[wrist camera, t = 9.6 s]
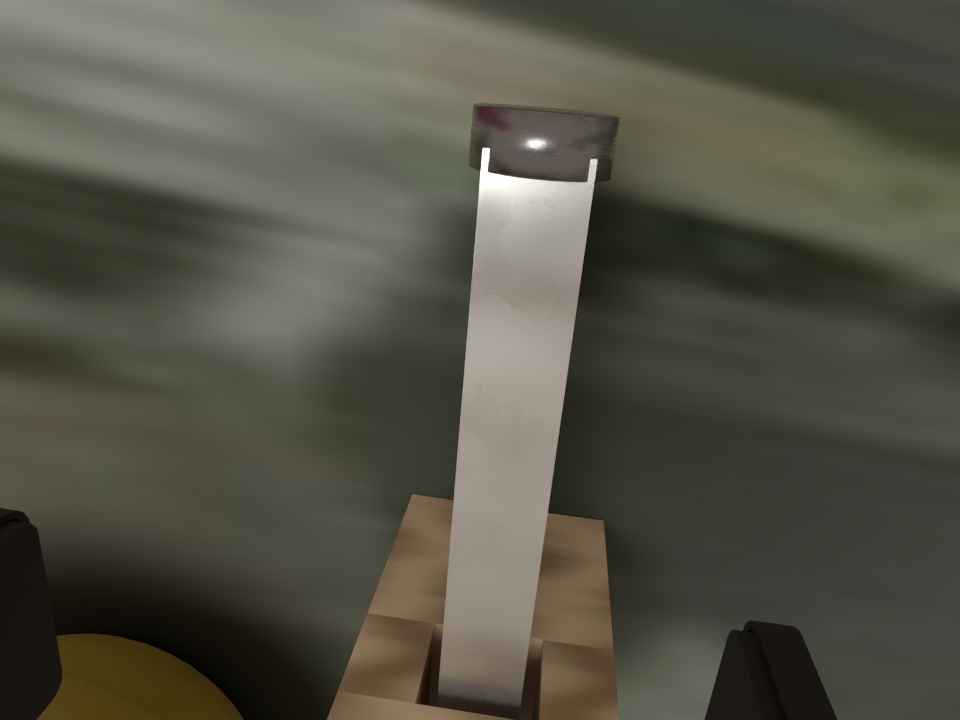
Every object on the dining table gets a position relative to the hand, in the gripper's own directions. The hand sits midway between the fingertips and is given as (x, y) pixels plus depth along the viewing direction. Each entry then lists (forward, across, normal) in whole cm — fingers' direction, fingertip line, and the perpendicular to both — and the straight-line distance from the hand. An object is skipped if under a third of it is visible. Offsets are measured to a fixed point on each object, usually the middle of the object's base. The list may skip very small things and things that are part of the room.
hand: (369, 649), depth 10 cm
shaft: (+15, -1, +6) cm, 17 cm away
